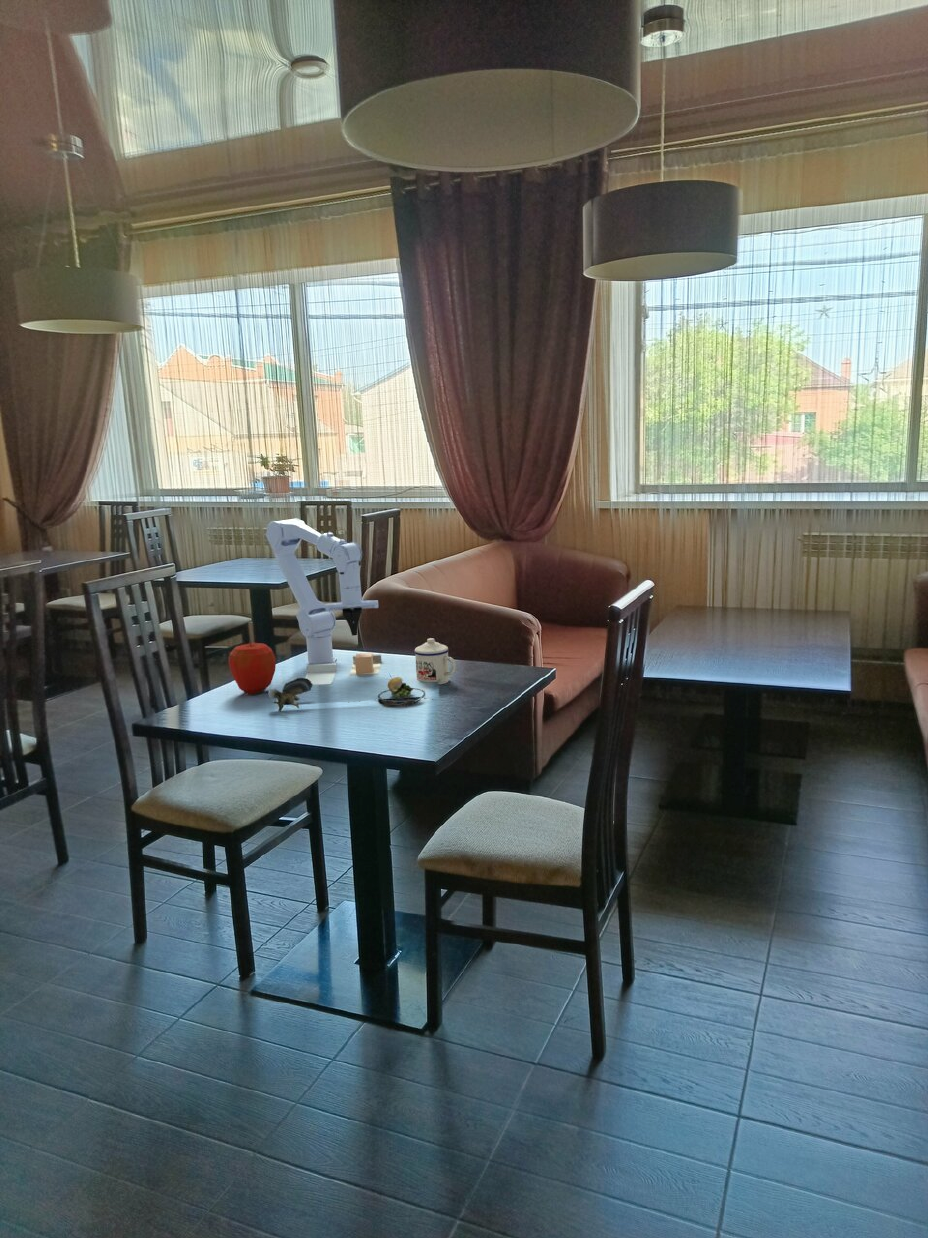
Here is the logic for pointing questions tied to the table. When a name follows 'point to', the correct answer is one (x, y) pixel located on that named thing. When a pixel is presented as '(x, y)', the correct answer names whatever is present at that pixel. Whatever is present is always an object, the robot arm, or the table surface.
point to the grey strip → (321, 673)
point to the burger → (398, 694)
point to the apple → (252, 667)
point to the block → (364, 663)
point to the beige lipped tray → (375, 665)
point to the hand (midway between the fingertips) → (354, 634)
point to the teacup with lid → (433, 662)
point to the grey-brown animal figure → (291, 692)
